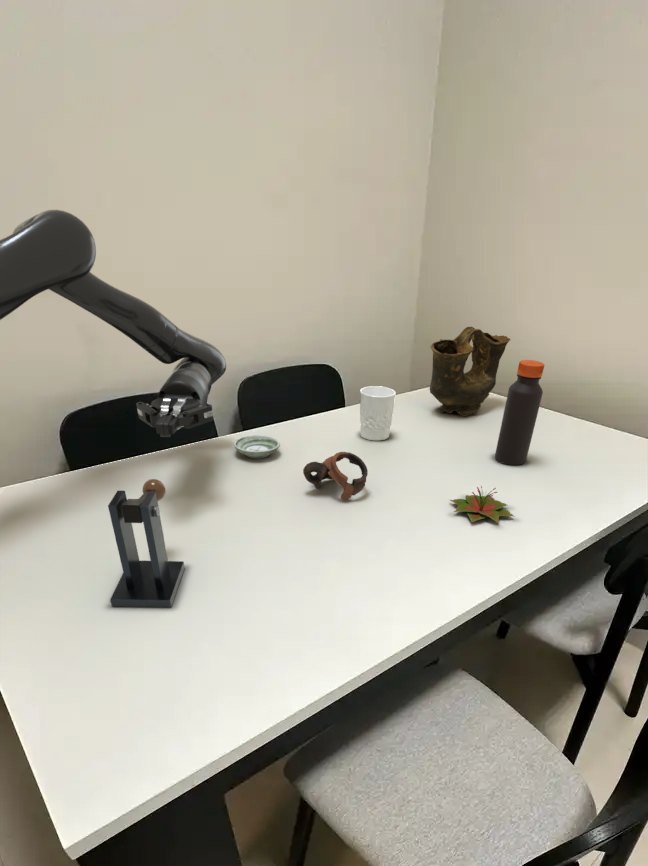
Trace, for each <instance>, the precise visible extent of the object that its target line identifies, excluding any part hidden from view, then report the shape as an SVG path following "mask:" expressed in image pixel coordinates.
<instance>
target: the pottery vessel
mask: <svg viewBox="0 0 648 866" xmlns="http://www.w3.org/2000/svg"><path fill="white" fill-rule="evenodd" d="M471 341H472V342H471ZM509 342H511V338H510V337H508V336H507V335H497V334H495V335H492V334H491V333H488V332H483V330H481V329H480V328H475V327H473V326H466V327H465V328H464V329H463V330H462V331H460V334H458V335H457V336H456V337H454V338H453V339H450V338H449V339H442V338H441V339H439V340H437V341H435V342H433V343H432V344H431V345H430V348H429V349H431V351H432V368H431V369H432V371H431V379H430V384H429V393H430V394H431V395H432V396H433V397H434V398H435V399H436V400H437V402H439V403H440V404H442V405H440V408H439V411H440V412H441V413H444V412H445V413H447V414H451V413H452V412H457V415H461V416H463V417H467V416H471V415H476V414H477V413H478V411H479V409H480V408H481V406H482V404H483V403H484V402H485V400H486V399H487V398H489V396H490V393H491V392H492V390H493V389H494V388H495V386H496V384H497V374H498V369H499V365H500V361H501V358H502V356H503V355H504V353H505V351H506V347H507V345H508V343H509ZM471 343H472V346H471ZM470 355H471V362H472V364H471V368H470V369H469V370H468V371H466V372H465V371H464V370H465V367H466V364H467V361H468V359H469V356H470Z"/></svg>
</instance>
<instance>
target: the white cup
mask: <svg viewBox="0 0 648 866" xmlns="http://www.w3.org/2000/svg"><path fill="white" fill-rule="evenodd" d="M396 393H397V392H396V390H394V389H392V388H390V387H387V386H381V385H380V386H379V385H378V386H377V385H370V386H365V387H362V388H360V391H359V424H360V427H359V430H360V432H359V435H360V436H361V438H362V439H363V438H364V439H366V440H370V441H384V440H387V439H389V437H390V433H391V426H392V421H393V414H394V410H395V409H394V408H395V402H396V401H395V400H396Z"/></svg>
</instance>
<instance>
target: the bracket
mask: <svg viewBox="0 0 648 866" xmlns="http://www.w3.org/2000/svg"><path fill="white" fill-rule="evenodd" d="M127 500H128V499H127V494H126V490H117V491H116V492H115V494H114V496H113V497H112V498H111V500H110V502H109V503H108V505H107V507H108V512H109V516H110V521H111V524H112V529H113V533H114V534H113V535H114V538H115V542H116V546H117V551H118V555H119V560H120V564H121V568H122V572H123V573H122V575H121V576H120V579H119V581H118V583H117V585H116V587H115V589H114V591H113V593H112V594H111V597H110V599H109V600H110V605H111V607H115V608H116V607H120V608H121V607H125V608H126V607H128V608H129V607H130V608H132V607H133V608H172V607H173V603H174V600H175V597H176V594H177V591H178V588H179V586H180V583H181V579H182V577H183V574H184V571H185V567H186V566H185V562H184V561H182V560H180V561H179V560H168V554H167V549H166V541H165V538H164V531H163V530H164V529H163V526H162V520H161V513H160V511H161V510H160V507H159V503H158V502H159V501H157V495H156V491H148V493H147V495H146V497H145V499H144V500H143V502H142V504H141V506H140V508H141V513H142V518H143V522H142V523H143V528H144V534H145V538H146V544H147V548H148V554H149V559H150V560H140V556H139V552H138V547H137V543H136V538H135V533H134V527H133V523H125V522H124V515H123V508H122V505H123V504H124V503H125V502H126V501H127Z"/></svg>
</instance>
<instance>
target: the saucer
mask: <svg viewBox="0 0 648 866" xmlns="http://www.w3.org/2000/svg"><path fill="white" fill-rule="evenodd" d="M233 447H234V449H235V450H237V451H238V452H239V453H241V454H242V455H244V456H246V457H248V458H252V459H263V458H266V457H269V455H272V454H273V453H275V452H276V451H277V450H279V448H280V447H281V443H280V440H278V439H277V438H275V437H273V436H269V435H263V434H261V435H260V434H253V435H245V436H241V437H239V438H237V439H236V440H234V441H233Z"/></svg>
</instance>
